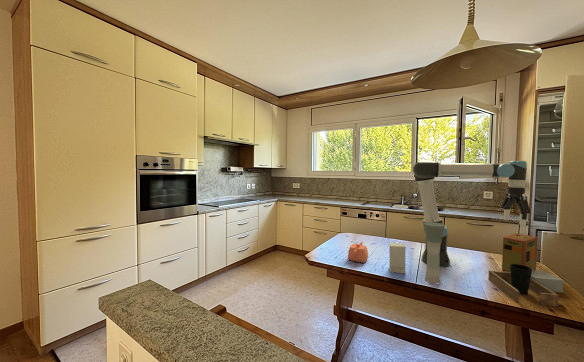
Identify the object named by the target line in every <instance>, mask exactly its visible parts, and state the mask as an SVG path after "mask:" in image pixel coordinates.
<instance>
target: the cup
mask: <svg viewBox="0 0 584 362" xmlns="http://www.w3.org/2000/svg"><path fill="white" fill-rule="evenodd" d="M510 274H511V282H510V285H512V286H513V287H514V288H516V289H517V290H518V291H520V292H519V295H524V296H525V295H526V296H527V295H528V294H529V290H530V289H529V284H530V279H531V274H532V269H531V268H530V267H527V266H524V265H519V264H510Z"/></svg>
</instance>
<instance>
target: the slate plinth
mask: <svg viewBox="0 0 584 362" xmlns="http://www.w3.org/2000/svg"><path fill="white" fill-rule="evenodd" d="M531 278H532V279H533V280H535V281H536V282H538V283H540V284H541V285H543V286H545V287H546V288H548V289H550V290H551V291H553V292H554V293H560V294H561V293H562V294H563V293H564V291H563V290H564V280H563V279H562V278H560V277H558V276H556V275H554V274H552V273H550V272H548V271H547V270H543V269H541V270H540V269H536V270H532V274H531Z"/></svg>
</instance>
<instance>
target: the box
mask: <svg viewBox="0 0 584 362" xmlns="http://www.w3.org/2000/svg"><path fill="white" fill-rule="evenodd" d="M502 238H503V239H502V240H503V241H502V242H503V243H502V261H501V262H502V263H501V271H503V272H510V264H519V265H524V266H527V267H530V268H531V269H532V270H537V259H538V258H537V257H538V256H537V254H538V253H537V252H538V251H537V250H538V239H539V237H538V236H532V235H528V234H522V233H513V234H510V235H506V236H503V237H502Z"/></svg>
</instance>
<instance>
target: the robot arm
mask: <svg viewBox="0 0 584 362" xmlns="http://www.w3.org/2000/svg"><path fill="white" fill-rule="evenodd" d="M527 170H528V165H527V161H525V160H511V161H509V162H508V163H441V162H440V161H430V160H419V161H417V162H416V163H415V164H414V165H413V167H412V171H413V176H414V181H415V183H417V184H418V189H419V194H420V200H421V206H422V210H423V211H422V212H423V217H424V218H423V219H422V224H423V225H422V226H423V231H424V235H425V237H426V233H425V228H424V223H425V222H436V223H441V224H444V222H443V218H441V217H440V215H439V209H438V205H437V199H436V193H435V188H434V183H433V182H434V181H435V178H439V177H445V176H446V177H480V178H481V177H482V178H483V177H485V178H488V177H489V178H503V179H504V178H508V182H507V186H508V187H507V193H505V198H504V200H503V202H502V204H501V208H502V209H503V221H504V220H505V221H510V219H511V218H510V215H511V207H512V206H513V204H516V205H517V207H518V209H519V211H520V213H519V226H527V225H526V224H527V218H528V217H527V216H528V215H529V214H531V208H530V206H529V202H528V196H525V194H526V183H527V181H526V179H527ZM523 195H524V196H523ZM448 234H449V232H448V227H447V226H446V225H445V228H444V232H443V235H442V242H441V245H440V253H439V267H440V266H441V267H442V268H443V267H444V268H445V267H449V266H450V264H451V260H450V258H449V254H448ZM424 242H425V243H424V244H425V248H424V251H423V253H422V255H421V261H422V262H423V263H425V264H427V253H428V251H427V241H426V239H425V241H424Z"/></svg>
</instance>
